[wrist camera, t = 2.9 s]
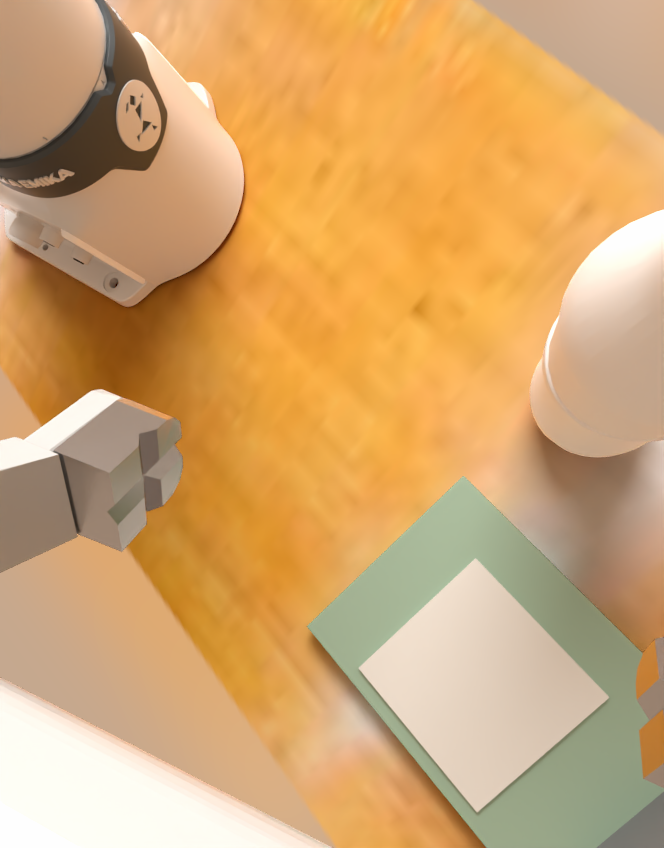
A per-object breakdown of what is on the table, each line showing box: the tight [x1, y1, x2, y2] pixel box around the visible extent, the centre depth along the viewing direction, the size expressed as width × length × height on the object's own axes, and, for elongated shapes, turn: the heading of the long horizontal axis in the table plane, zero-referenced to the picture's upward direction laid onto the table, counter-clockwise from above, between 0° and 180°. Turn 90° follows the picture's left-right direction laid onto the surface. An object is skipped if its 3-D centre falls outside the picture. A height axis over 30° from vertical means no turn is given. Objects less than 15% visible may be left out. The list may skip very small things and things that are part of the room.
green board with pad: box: [307, 476, 664, 848], centre depth 30 cm, size 27×14×5 cm, turn 43°
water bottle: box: [530, 210, 664, 457], centre depth 22 cm, size 7×7×25 cm
